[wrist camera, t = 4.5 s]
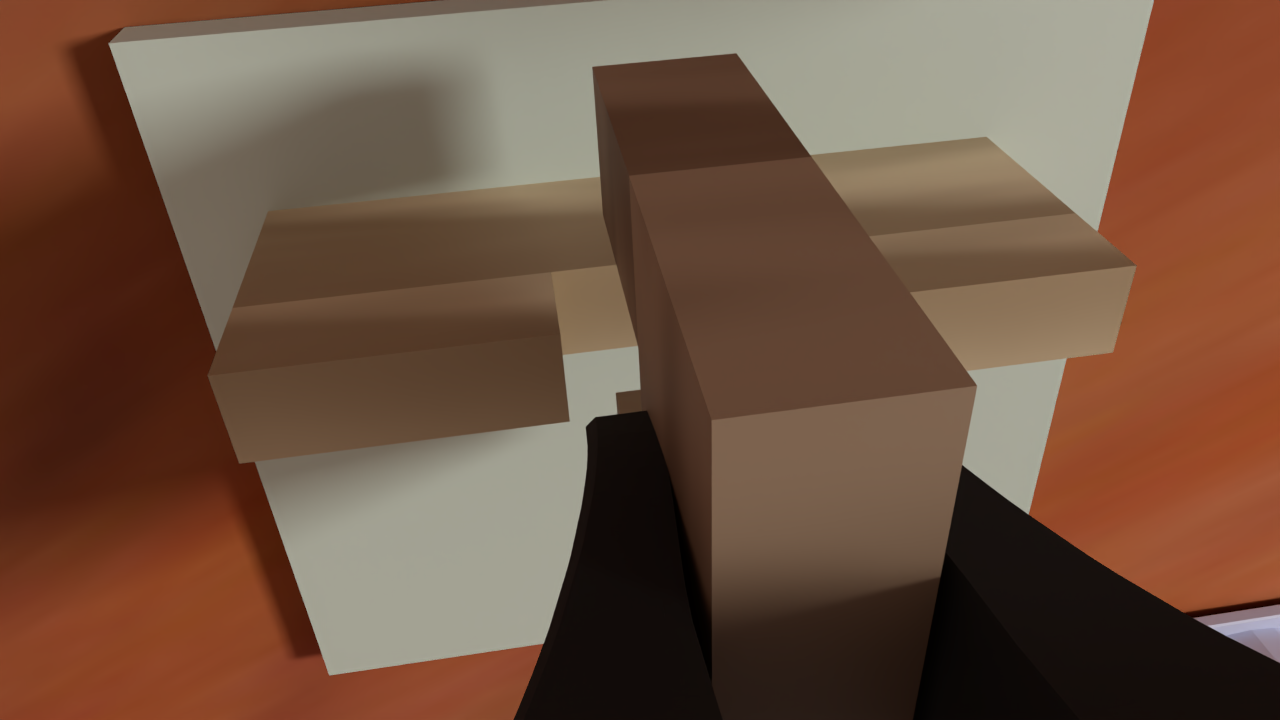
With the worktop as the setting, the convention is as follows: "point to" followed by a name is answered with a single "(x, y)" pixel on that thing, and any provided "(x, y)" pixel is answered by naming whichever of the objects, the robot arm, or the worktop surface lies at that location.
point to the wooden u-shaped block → (607, 296)
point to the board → (556, 151)
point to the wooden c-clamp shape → (779, 397)
